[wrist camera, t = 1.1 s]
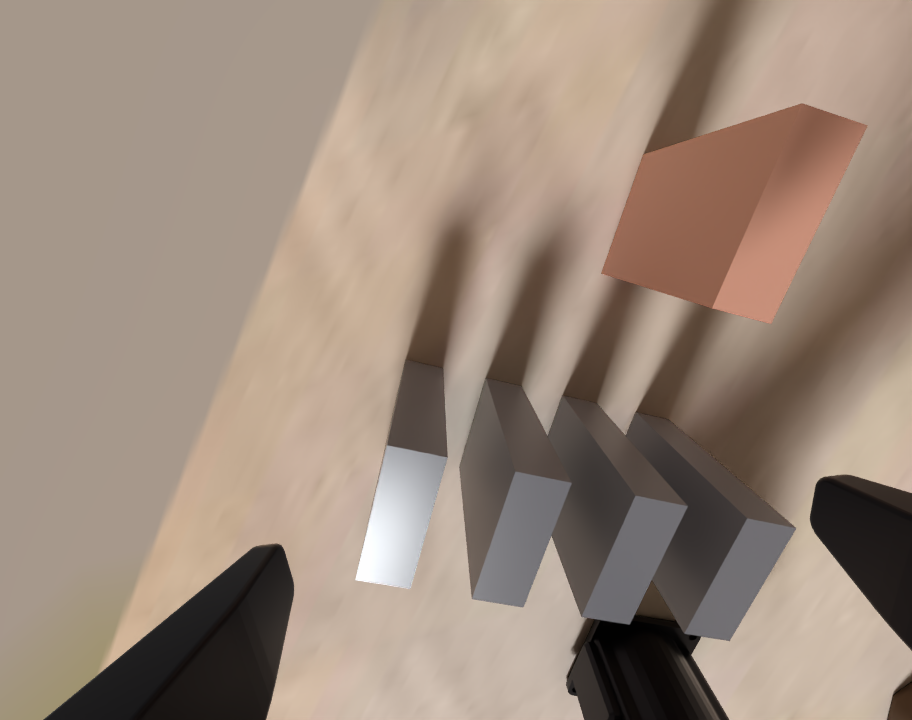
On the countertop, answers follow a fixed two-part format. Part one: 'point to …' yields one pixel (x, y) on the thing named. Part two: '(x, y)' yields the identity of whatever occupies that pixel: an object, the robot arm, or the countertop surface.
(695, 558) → the domino
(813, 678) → the countertop surface
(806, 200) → the domino
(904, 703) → the beer bottle
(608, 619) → the domino
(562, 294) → the countertop surface
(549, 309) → the countertop surface
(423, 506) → the domino
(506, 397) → the domino
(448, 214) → the countertop surface
